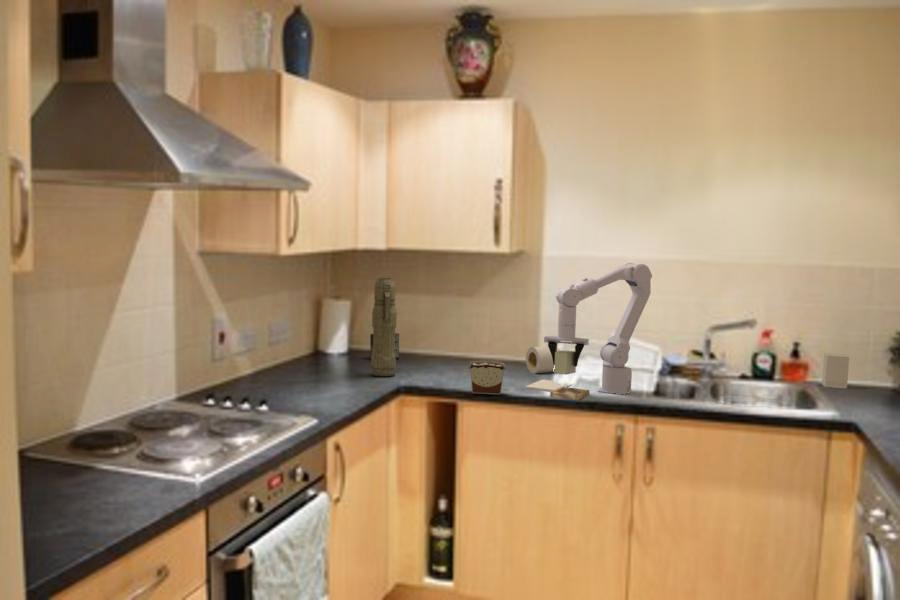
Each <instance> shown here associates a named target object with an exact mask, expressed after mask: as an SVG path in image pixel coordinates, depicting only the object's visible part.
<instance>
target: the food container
mask: <svg viewBox="0 0 900 600" xmlns="http://www.w3.org/2000/svg"><path fill="white" fill-rule="evenodd" d="M467 369H468V370H469V369H470V371H469V372H470V380H471V382H470V383H471V393H472V394H481V395H482V394H483V395H484V394H485V395H487V394H488V395H501V394H502V387H503V382H504V381H503V380H504V374H505V373H504V372H505V371H507V368H506V364H505V363H504V362H501V361H493V360H475V361H471V362H470V363H469V365H468V368H467Z"/></svg>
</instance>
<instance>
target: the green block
mask: <svg viewBox="0 0 900 600" xmlns="http://www.w3.org/2000/svg"><path fill="white" fill-rule="evenodd" d="M574 362H575V350H574V351H573V350H569V349H568V350H566V349H564V350H560V351H557V352H555V369H554V372H553V373H554V374H559V375H565V376H567V375H570V374H575V373H576V368H577V367H575V366H574Z"/></svg>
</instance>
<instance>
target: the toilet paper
mask: <svg viewBox="0 0 900 600" xmlns="http://www.w3.org/2000/svg"><path fill="white" fill-rule="evenodd" d="M557 351H561V349H560V348H559V347H558V346H557ZM525 364H526V368H527V370H528V372H530V373H532V374H545V373H548V374H549V373H554V372H553V368H554V365H553V359H552V355H551V352H550V349H549V347H548V345H547V346H534V347H533V346H530V347H529V348H528V349H527V351H526V354H525Z"/></svg>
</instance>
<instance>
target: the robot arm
mask: <svg viewBox="0 0 900 600" xmlns="http://www.w3.org/2000/svg"><path fill="white" fill-rule="evenodd" d="M652 277H653V274H652V272H651V269H650V268H649V266H648V265H646V264H645V263H633V262H627V263H625V264H621V265H619V266H617V267H615V268H614V269H612V270H609V271H608V272H606V273H604V274H603V275H600V276H598V277H596V278H594V279H593V278H590V277H588V278H587V277H583V278H582V279H581V281H579V282H577V283H575V284H570V285H569V288H568V287H564V288H562V289H560V290H559V291H558V293H557V295H556V296H555V298H556V300H557V302H558V320H557V321H558V323H557V324H558V325H557V336H553V335H545V336H544V337H543V343H546V344H547V346H548V347H549V349H550V352H551V355H552V359H553V365H555V352H557V347H558V344H565V345H566V344H568V345H575V346H574V351H575V362H574V366H575V367H576V368H577V367H578V363H579V358H580V356H581V353H582V351H583V349H584V347H585V346H590V345H589V341H590V340H589V339H590V338H581V337H576V324H577V305H579V303H580V302H581V301H583V300H586V299H588V298H590V297H592V296H594V295H596V294H597V293H598V291H599V289H601V288H603V287H606V286H607V285H608V286H609V285H610V284H612V283H615V282H617V281H625V282H626V283H627V284H628V286H629V287H630V290H631V292H632V295H631V297H630V299H629V301H628V303H627V306H626V308H625V310H624V312H623V315H622V316H621V319H620V321H619V322H618V326H617V328H616V329H615V332H614V334H613V335H612V336H611V337H610V338H608V339H607V342H606V343H605V344H604V345H603V346H602V347H601V349H600V351H599V353H600V354H599V355H600V358H601V360H602V373H601V375H602V376H601V377H602V378H601V388H599V389H598V390H597V392H598V393H604V394H613V393H616V395H621V394H623V395H622V396H625V394H626V395H627V393H628V392H629V393H631V392H632V378H633V377H632V376H633V375H632V374H633V371H632V368H631V367H629V366H625V365H626V364H627V363H628V361H629V353H630V350H631V345H630V340H631V338H632V337H633V336H632V335H633V333H634V331H635V329H636V327H637V324H638V323H639V320H640V318H641V316H642V314H643V311H644V309H645V308H646V305H647V303H648V300H649V298H650V296H651V293H652V291H651V288H652V287H651V280H652ZM630 391H631V392H630ZM629 393H628V394H629Z"/></svg>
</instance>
